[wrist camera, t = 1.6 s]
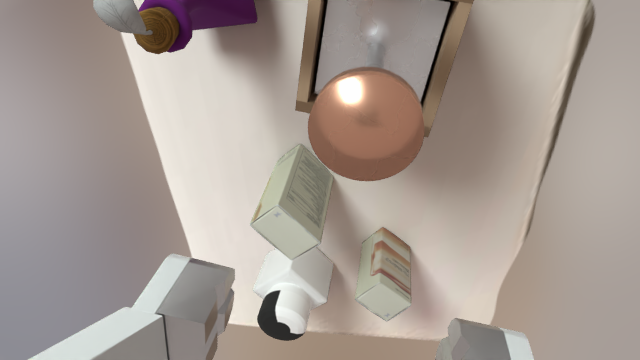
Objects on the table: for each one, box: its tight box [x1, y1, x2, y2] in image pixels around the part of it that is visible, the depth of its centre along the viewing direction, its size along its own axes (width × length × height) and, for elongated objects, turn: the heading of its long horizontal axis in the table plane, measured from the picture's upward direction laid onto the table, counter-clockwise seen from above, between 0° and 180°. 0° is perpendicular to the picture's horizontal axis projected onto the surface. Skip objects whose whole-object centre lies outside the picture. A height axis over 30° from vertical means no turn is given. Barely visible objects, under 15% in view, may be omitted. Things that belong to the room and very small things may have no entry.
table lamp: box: [308, 0, 450, 181], centre depth 23 cm, size 8×8×13 cm
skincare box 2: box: [355, 227, 411, 321], centre depth 50 cm, size 5×4×10 cm
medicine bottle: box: [253, 247, 334, 341], centre depth 53 cm, size 7×7×12 cm
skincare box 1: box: [250, 144, 334, 260], centre depth 44 cm, size 6×4×12 cm
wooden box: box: [295, 0, 474, 137], centre depth 33 cm, size 10×10×14 cm
